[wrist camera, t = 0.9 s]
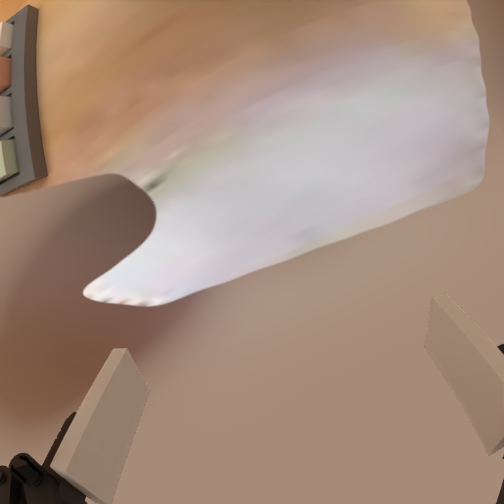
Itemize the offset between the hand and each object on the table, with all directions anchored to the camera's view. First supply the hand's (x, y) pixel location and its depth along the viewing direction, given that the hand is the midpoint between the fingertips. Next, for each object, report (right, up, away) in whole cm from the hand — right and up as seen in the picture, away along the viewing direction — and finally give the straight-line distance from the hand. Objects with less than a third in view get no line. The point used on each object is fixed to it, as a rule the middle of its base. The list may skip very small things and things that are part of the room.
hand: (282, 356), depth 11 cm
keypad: (-39, +28, +18) cm, 51 cm away
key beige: (-38, +24, +17) cm, 48 cm away
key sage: (-37, +18, +19) cm, 45 cm away
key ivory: (-41, +37, +12) cm, 56 cm away
